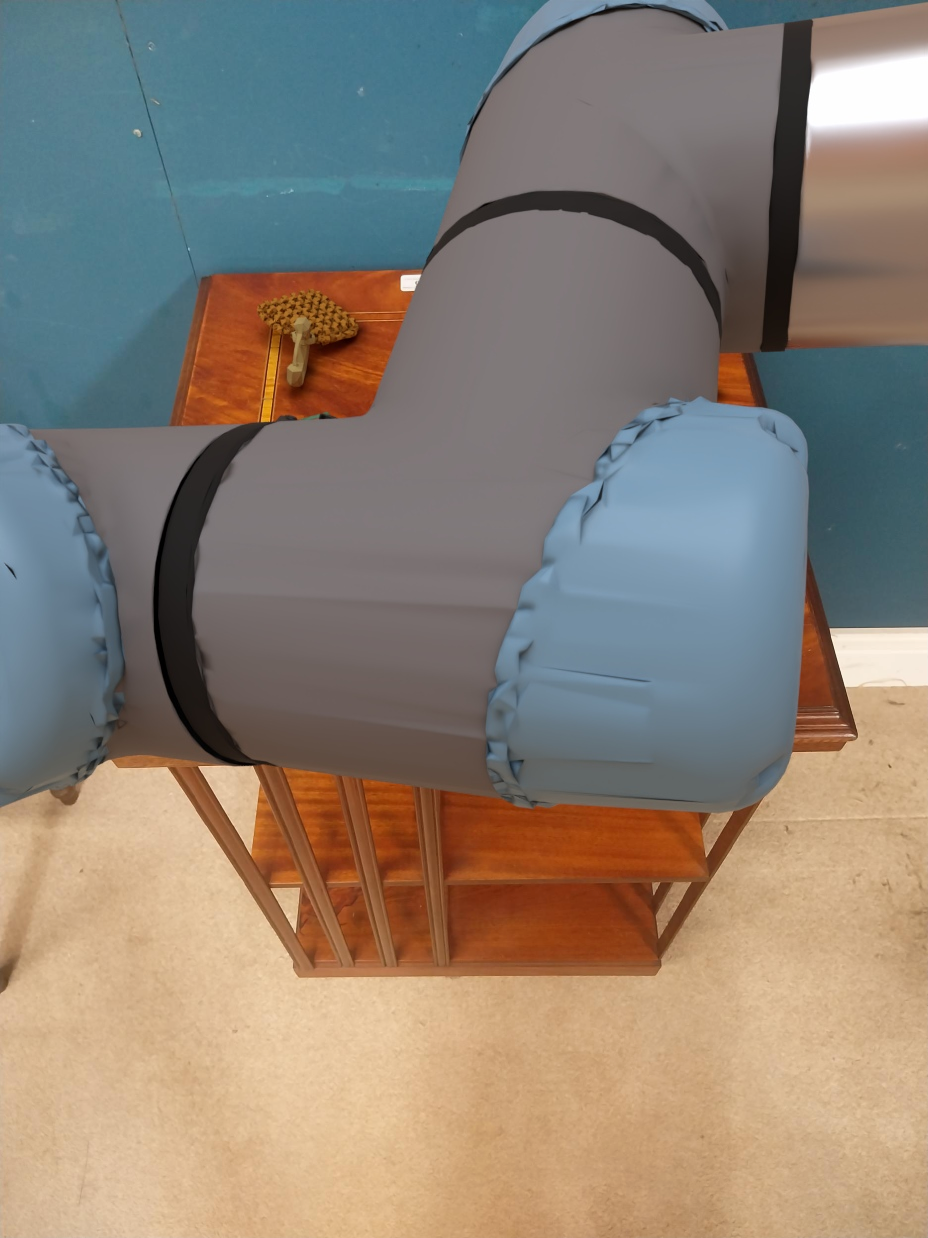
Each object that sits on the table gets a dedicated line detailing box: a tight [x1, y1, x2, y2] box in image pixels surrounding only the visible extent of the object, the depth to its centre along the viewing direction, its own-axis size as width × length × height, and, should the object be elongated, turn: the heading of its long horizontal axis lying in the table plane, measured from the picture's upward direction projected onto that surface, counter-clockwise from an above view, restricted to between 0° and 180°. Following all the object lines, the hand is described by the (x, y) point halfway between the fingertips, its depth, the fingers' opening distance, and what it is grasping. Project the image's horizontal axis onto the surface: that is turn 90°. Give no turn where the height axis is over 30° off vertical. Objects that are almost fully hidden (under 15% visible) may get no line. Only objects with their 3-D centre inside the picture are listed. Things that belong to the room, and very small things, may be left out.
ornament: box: [256, 288, 360, 388], centre depth 86 cm, size 7×10×15 cm
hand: (496, 498), depth 49 cm, fingers open, 13 cm apart
